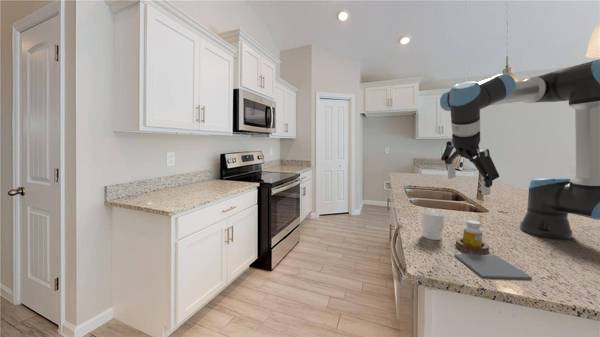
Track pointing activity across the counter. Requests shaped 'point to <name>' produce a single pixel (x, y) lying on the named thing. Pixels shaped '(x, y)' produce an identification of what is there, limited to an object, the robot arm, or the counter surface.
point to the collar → (476, 250)
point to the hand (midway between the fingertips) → (467, 184)
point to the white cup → (432, 224)
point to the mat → (492, 267)
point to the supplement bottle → (472, 234)
